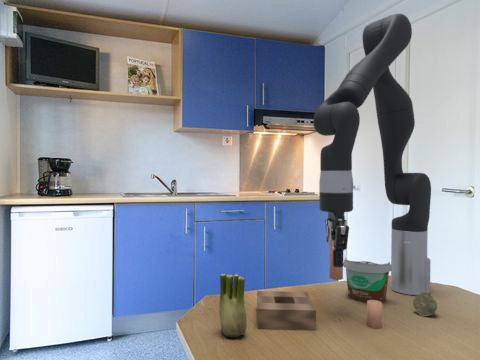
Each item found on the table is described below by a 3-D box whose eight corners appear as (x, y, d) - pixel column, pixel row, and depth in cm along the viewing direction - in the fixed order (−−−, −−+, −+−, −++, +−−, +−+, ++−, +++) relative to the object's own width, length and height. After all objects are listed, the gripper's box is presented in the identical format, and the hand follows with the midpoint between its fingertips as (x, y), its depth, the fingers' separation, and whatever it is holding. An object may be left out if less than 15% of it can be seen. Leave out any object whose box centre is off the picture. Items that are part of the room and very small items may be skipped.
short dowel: (378, 322, 78) (379, 299, 78) (383, 328, 75) (384, 304, 75) (365, 322, 78) (365, 299, 78) (369, 328, 75) (369, 304, 75)
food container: (338, 299, 92) (338, 261, 92) (343, 293, 98) (343, 256, 98) (389, 308, 86) (389, 267, 86) (391, 300, 92) (392, 262, 92)
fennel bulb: (215, 331, 73) (216, 272, 73) (237, 326, 75) (237, 269, 75) (228, 342, 68) (229, 279, 68) (250, 337, 70) (251, 276, 70)
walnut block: (306, 308, 86) (307, 292, 86) (315, 329, 74) (315, 310, 74) (257, 307, 86) (257, 290, 86) (257, 328, 74) (258, 309, 74)
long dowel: (341, 276, 84) (341, 234, 84) (344, 280, 81) (344, 236, 81) (328, 276, 84) (328, 234, 84) (331, 280, 81) (331, 236, 81)
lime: (439, 319, 80) (439, 297, 80) (416, 317, 81) (416, 295, 81) (433, 312, 84) (433, 291, 84) (411, 310, 85) (411, 289, 85)
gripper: (361, 192, 75) (361, 273, 75) (344, 189, 89) (344, 257, 89) (325, 192, 75) (326, 273, 76) (314, 189, 89) (314, 257, 90)
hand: (336, 264), depth 83 cm, fingers closed on long dowel, 3 cm apart
